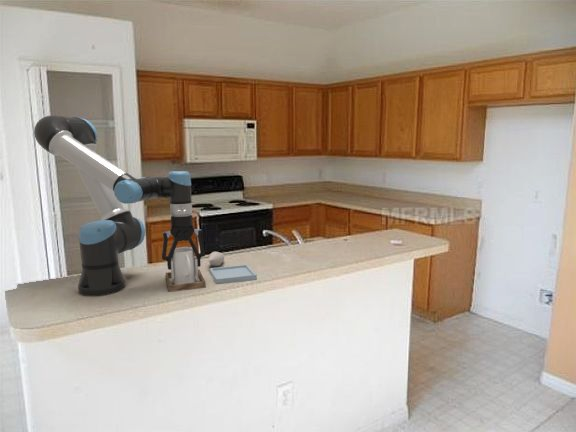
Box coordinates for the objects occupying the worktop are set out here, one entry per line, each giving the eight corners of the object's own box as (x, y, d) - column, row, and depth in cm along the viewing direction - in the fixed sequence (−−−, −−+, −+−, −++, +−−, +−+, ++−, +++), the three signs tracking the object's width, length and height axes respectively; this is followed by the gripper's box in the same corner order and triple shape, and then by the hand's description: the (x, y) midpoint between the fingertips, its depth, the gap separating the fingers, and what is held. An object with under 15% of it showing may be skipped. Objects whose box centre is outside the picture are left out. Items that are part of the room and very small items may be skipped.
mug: (200, 285, 152) (199, 252, 150) (176, 288, 148) (174, 255, 146) (193, 276, 162) (191, 245, 160) (170, 279, 159) (168, 248, 157)
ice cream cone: (207, 271, 168) (219, 267, 183) (218, 262, 167) (230, 258, 182) (198, 259, 168) (211, 256, 183) (209, 250, 168) (221, 247, 183)
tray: (216, 284, 153) (216, 279, 153) (209, 272, 167) (209, 268, 167) (256, 279, 158) (256, 274, 158) (247, 268, 172) (247, 264, 172)
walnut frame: (168, 291, 146) (168, 286, 145) (165, 277, 161) (165, 272, 161) (205, 287, 150) (205, 281, 149) (199, 274, 165) (199, 269, 165)
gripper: (151, 218, 144) (155, 282, 148) (212, 214, 151) (214, 276, 155) (150, 215, 151) (154, 276, 155) (209, 211, 158) (211, 270, 162)
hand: (184, 276), depth 155 cm, fingers closed on mug, 8 cm apart
